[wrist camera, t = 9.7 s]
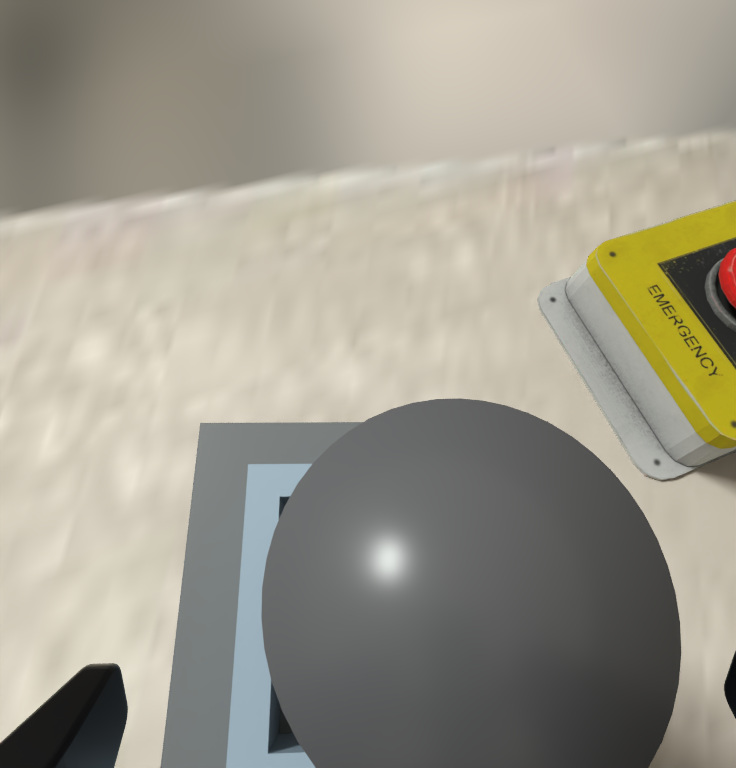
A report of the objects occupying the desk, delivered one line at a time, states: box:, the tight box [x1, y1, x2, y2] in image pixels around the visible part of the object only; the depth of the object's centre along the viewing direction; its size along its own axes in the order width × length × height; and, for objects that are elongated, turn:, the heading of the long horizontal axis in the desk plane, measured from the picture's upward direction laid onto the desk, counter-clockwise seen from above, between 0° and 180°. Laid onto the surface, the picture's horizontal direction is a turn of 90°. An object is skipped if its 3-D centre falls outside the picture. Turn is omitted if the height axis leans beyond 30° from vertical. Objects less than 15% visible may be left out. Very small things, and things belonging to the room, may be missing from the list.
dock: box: [161, 422, 363, 768], centre depth 16 cm, size 13×13×3 cm
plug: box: [261, 399, 681, 768], centre depth 11 cm, size 4×4×12 cm
